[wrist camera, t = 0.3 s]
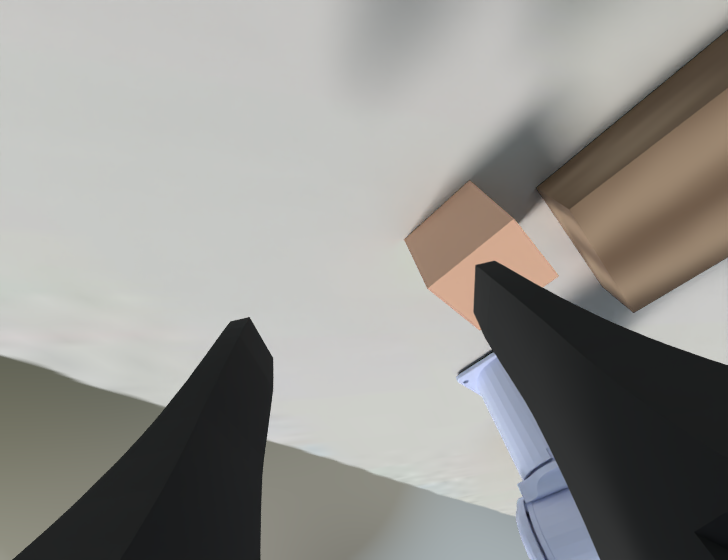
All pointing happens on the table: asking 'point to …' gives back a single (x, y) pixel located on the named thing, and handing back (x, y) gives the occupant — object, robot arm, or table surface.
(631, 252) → the base block
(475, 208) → the cube
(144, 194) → the table surface
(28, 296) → the table surface
